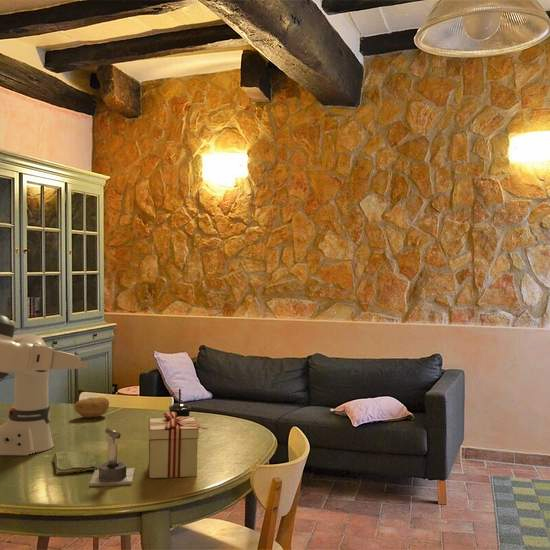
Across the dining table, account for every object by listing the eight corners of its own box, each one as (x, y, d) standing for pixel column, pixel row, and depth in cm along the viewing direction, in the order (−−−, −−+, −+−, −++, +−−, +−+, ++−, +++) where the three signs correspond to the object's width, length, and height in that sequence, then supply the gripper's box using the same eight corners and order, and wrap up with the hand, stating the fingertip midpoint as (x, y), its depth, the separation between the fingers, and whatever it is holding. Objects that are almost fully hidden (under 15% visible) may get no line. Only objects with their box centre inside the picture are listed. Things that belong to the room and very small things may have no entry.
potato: (73, 416, 272) (72, 397, 272) (107, 413, 278) (107, 394, 278) (75, 421, 264) (75, 402, 263) (111, 418, 269) (111, 399, 269)
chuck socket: (89, 486, 190) (89, 472, 190) (95, 472, 202) (94, 460, 202) (131, 484, 192) (131, 471, 192) (134, 471, 204) (134, 458, 204)
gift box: (210, 475, 200) (210, 419, 200) (149, 481, 195) (149, 424, 194) (201, 458, 216) (201, 407, 216) (144, 463, 211) (144, 410, 211)
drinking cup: (194, 443, 233) (194, 387, 233) (183, 449, 226) (183, 392, 226) (176, 441, 237) (176, 386, 236) (164, 446, 230) (164, 390, 229)
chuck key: (121, 477, 195) (121, 432, 194) (113, 479, 193) (113, 433, 193) (112, 471, 200) (111, 427, 200) (103, 473, 199) (103, 428, 198)
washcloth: (55, 477, 199) (55, 467, 199) (52, 460, 215) (52, 451, 215) (99, 472, 204) (99, 462, 204) (93, 456, 220) (93, 446, 220)
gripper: (16, 371, 190) (60, 376, 199) (47, 370, 175) (93, 375, 184) (19, 349, 191) (63, 355, 200) (50, 346, 176) (96, 353, 186)
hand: (78, 365), depth 192 cm, fingers open, 8 cm apart
